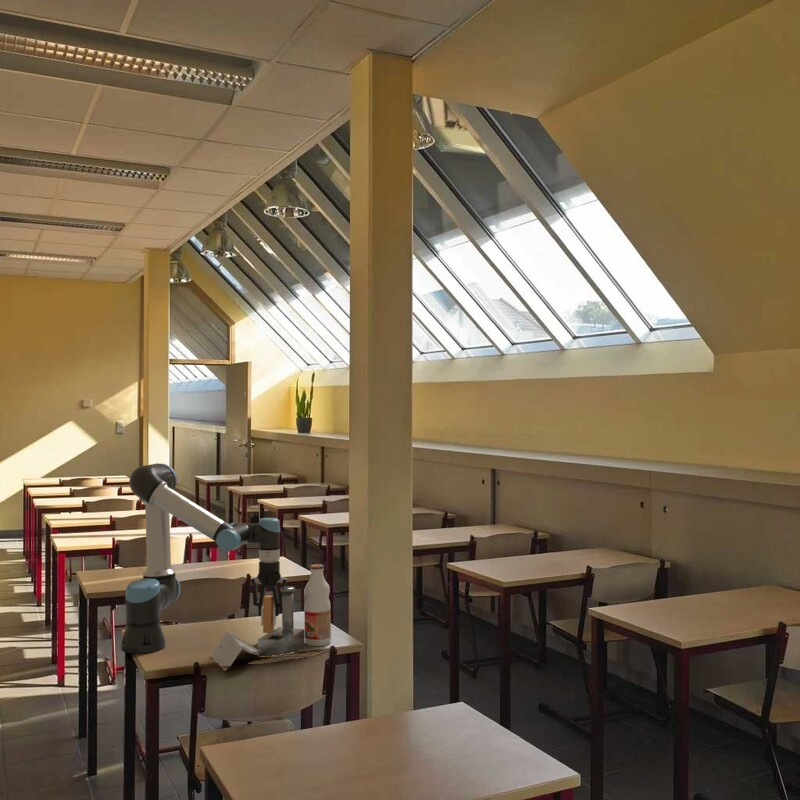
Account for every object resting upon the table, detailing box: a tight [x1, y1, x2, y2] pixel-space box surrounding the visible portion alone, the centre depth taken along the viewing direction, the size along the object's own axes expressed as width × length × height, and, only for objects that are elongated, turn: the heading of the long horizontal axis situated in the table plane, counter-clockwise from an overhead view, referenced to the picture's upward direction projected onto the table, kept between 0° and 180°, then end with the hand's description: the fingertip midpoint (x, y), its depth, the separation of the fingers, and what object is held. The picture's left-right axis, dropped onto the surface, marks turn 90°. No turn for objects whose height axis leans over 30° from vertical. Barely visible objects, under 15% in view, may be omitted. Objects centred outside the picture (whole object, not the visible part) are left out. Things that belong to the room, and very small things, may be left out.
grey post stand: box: [257, 586, 306, 656], centre depth 288 cm, size 10×16×21 cm, turn 162°
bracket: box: [210, 631, 260, 667], centre depth 277 cm, size 13×10×20 cm
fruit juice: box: [303, 563, 332, 647], centre depth 298 cm, size 9×9×28 cm
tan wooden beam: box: [262, 594, 275, 634], centre depth 301 cm, size 3×3×13 cm
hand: (268, 624), depth 301 cm, fingers closed on tan wooden beam, 4 cm apart
